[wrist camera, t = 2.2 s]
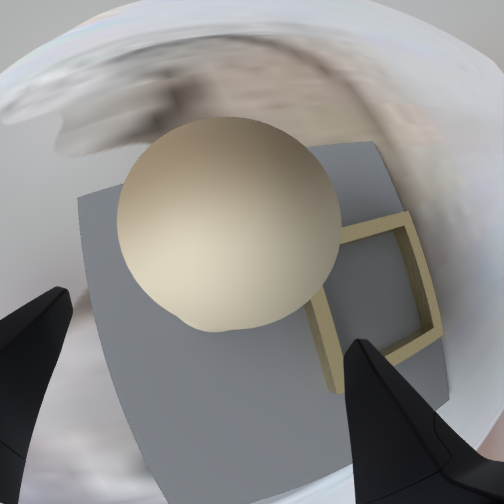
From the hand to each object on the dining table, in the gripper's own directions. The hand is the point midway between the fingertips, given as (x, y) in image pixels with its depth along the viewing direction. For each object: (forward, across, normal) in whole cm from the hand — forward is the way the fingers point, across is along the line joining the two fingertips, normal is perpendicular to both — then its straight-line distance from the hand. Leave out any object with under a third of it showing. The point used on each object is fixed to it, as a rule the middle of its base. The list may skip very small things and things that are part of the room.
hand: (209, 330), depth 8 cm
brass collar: (+9, -11, +4) cm, 14 cm away
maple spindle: (+8, 0, +5) cm, 9 cm away
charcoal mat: (+7, -5, +7) cm, 11 cm away
